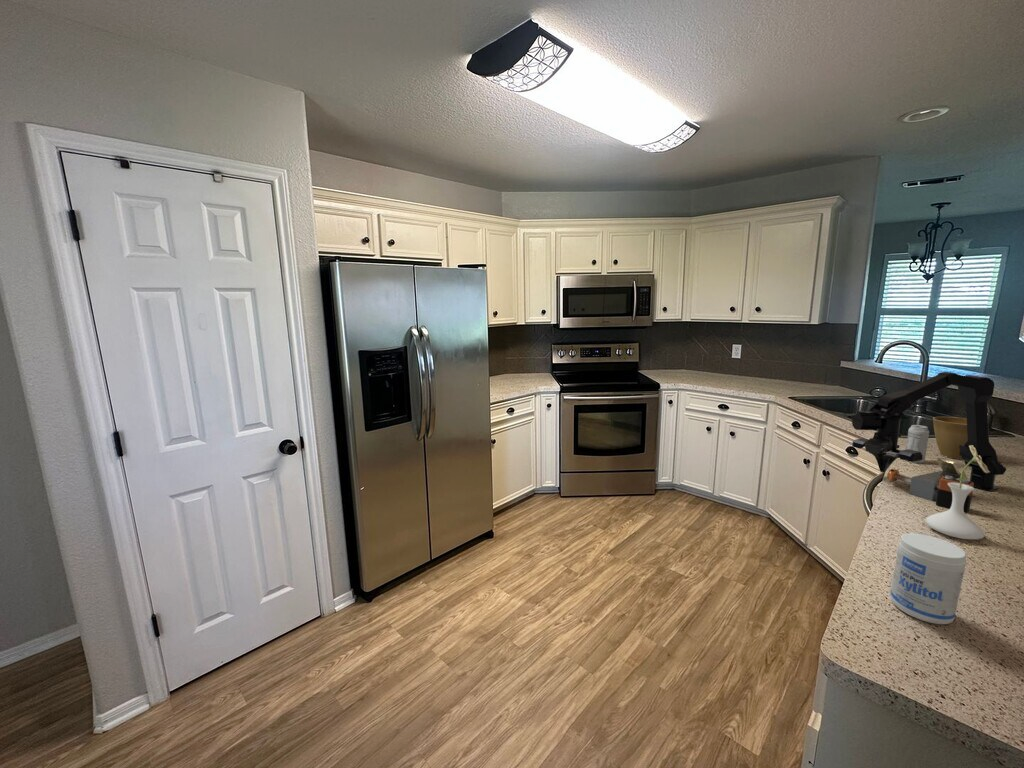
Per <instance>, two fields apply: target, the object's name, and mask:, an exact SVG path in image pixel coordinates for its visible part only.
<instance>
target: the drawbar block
mask: <svg viewBox="0 0 1024 768" xmlns="http://www.w3.org/2000/svg"><path fill="white" fill-rule="evenodd" d="M946 475H948V476H952V477H953V478H956V479H960V477H961V476H958V475H954V474H950V473H947V472H943V471H942V470H938V471H934V472H929V473H925V474H924V473H923V474H921V475H920V474H919V475H915V476H911V478H912V480H911V483H910V487H909V495H913V496H915V497H918V498H922V499H924V500H928V501H930V500H931V501H930V502H934V501H936V500H937V494H938V492H937V486H939V481H940V479H941V478H942V477H943V476H946ZM962 478H963V476H962Z"/></svg>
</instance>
